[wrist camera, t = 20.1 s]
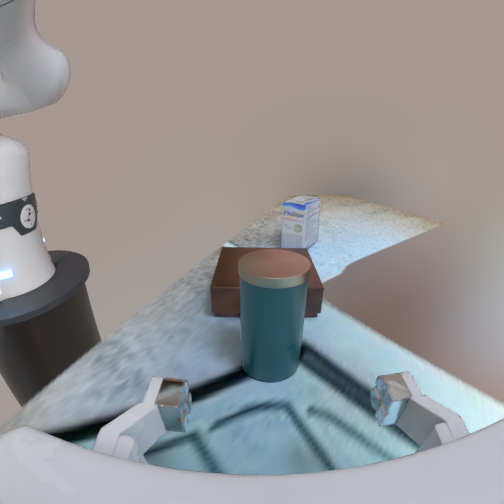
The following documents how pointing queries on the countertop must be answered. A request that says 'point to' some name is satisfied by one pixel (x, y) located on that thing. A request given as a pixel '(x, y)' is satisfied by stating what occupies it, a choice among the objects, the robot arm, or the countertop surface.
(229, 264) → the walnut platform
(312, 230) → the medicine box
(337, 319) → the countertop surface
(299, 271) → the teal canister
